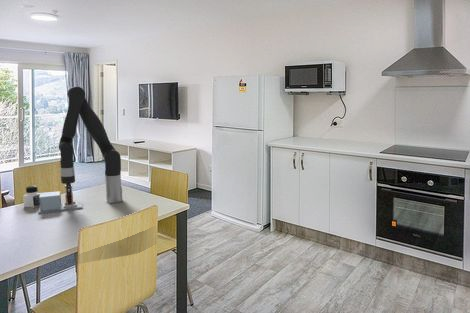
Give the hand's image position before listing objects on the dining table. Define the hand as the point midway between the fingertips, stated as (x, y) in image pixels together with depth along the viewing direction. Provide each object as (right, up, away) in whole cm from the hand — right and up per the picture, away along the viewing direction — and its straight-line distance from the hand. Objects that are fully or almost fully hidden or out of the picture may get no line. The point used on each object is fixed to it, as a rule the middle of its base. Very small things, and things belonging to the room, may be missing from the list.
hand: (69, 202), depth 213 cm
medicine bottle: (-24, -2, +4) cm, 24 cm away
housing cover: (-9, -2, -4) cm, 10 cm away
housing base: (-4, -3, -1) cm, 5 cm away
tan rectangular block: (0, 0, 0) cm, 0 cm away
